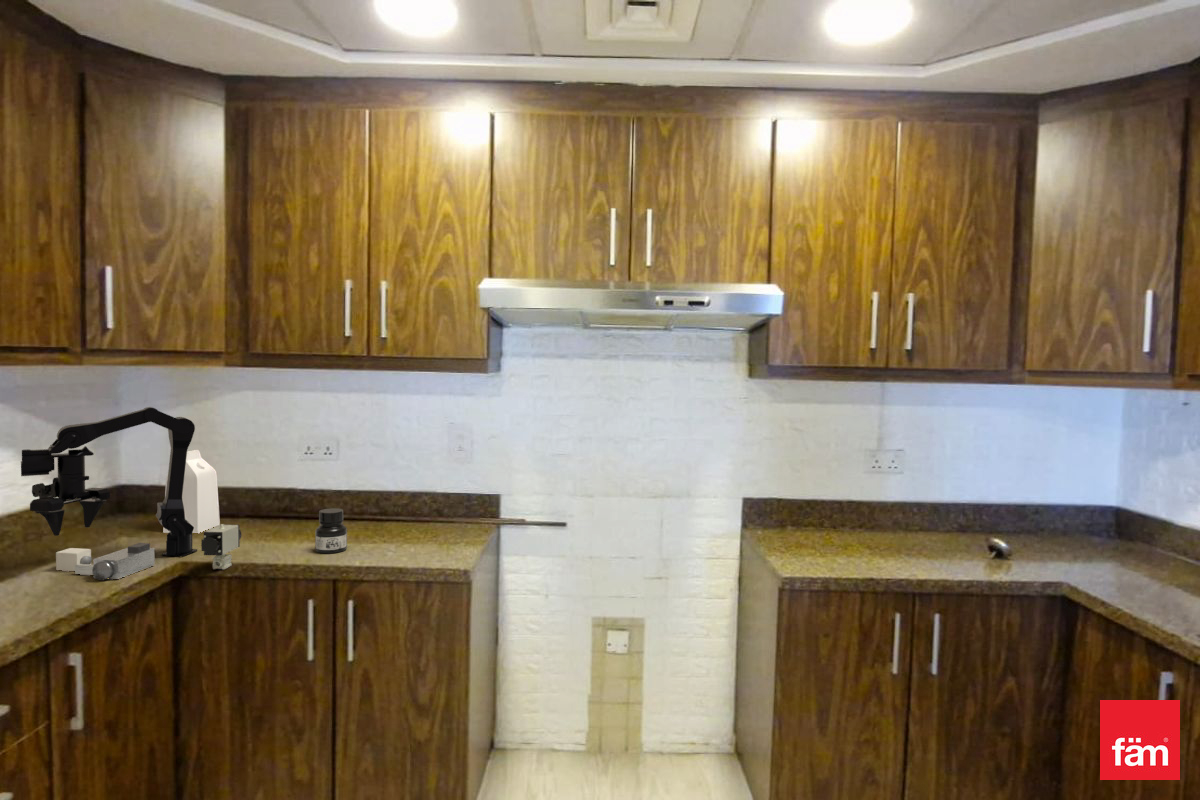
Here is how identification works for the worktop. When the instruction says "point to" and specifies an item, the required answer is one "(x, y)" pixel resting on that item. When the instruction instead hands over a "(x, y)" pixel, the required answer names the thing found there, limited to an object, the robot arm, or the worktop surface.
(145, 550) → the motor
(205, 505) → the milk
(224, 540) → the pneumatic valve
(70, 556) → the white block
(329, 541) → the ink bottle
